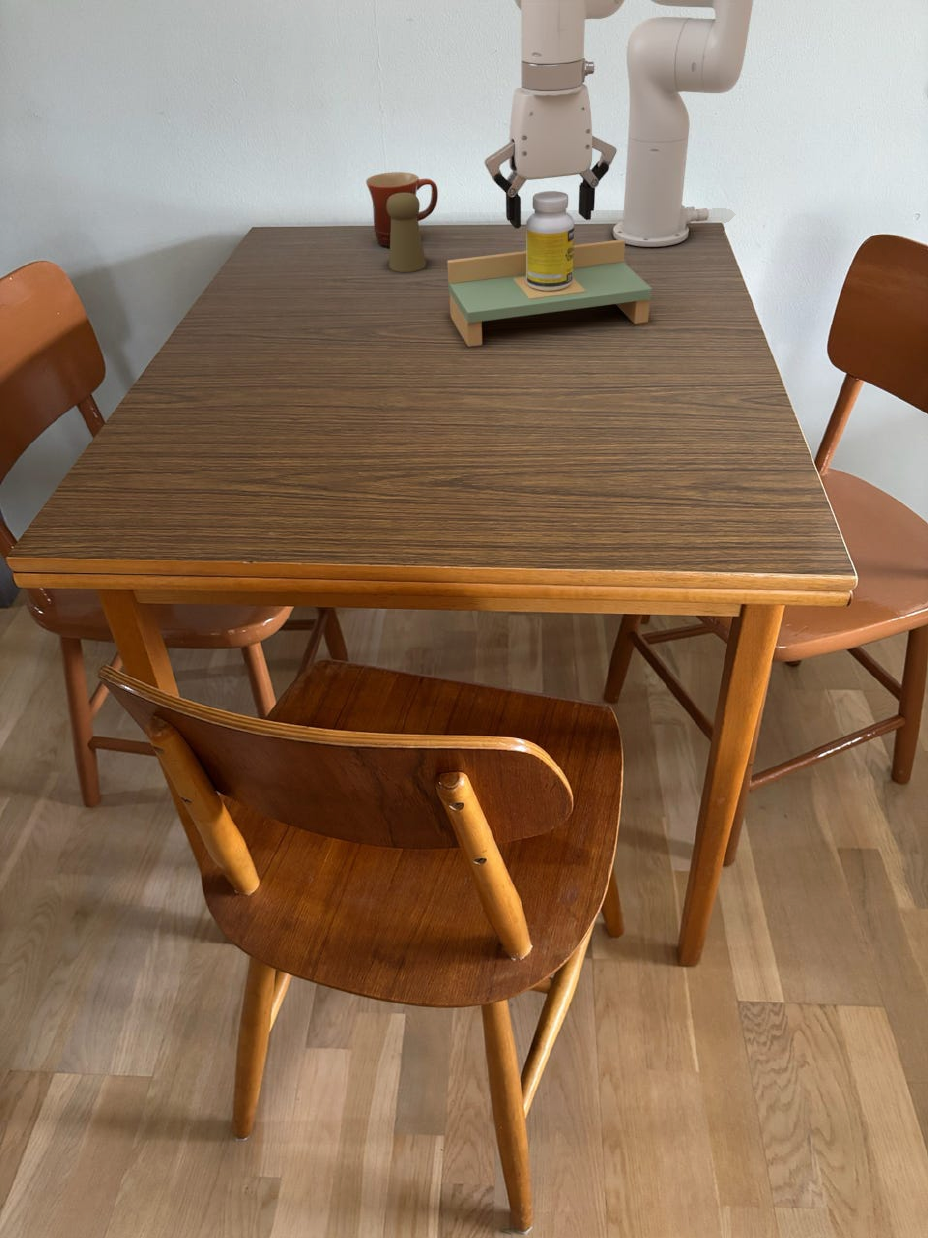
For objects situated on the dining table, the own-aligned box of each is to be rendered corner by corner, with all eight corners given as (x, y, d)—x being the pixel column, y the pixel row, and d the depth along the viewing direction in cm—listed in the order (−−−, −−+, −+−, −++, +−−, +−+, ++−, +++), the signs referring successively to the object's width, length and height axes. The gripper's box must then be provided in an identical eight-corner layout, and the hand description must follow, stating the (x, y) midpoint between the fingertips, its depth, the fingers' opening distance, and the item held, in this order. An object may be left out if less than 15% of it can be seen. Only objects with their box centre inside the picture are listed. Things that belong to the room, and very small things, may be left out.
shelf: (619, 293, 143) (622, 238, 138) (649, 323, 134) (654, 266, 129) (450, 315, 139) (447, 260, 134) (468, 348, 130) (466, 290, 125)
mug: (379, 253, 161) (373, 189, 154) (366, 238, 167) (360, 175, 161) (447, 243, 164) (443, 179, 157) (432, 228, 170) (428, 167, 164)
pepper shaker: (421, 272, 153) (416, 200, 146) (385, 271, 154) (378, 199, 147) (430, 259, 158) (425, 188, 151) (394, 258, 159) (388, 188, 152)
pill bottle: (565, 294, 130) (567, 204, 122) (519, 290, 132) (519, 201, 124) (577, 277, 134) (580, 190, 127) (533, 273, 136) (534, 187, 129)
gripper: (608, 64, 121) (602, 205, 132) (476, 76, 118) (480, 220, 129) (630, 74, 115) (621, 222, 126) (491, 88, 113) (494, 237, 123)
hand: (550, 220), depth 128 cm, fingers open, 9 cm apart
